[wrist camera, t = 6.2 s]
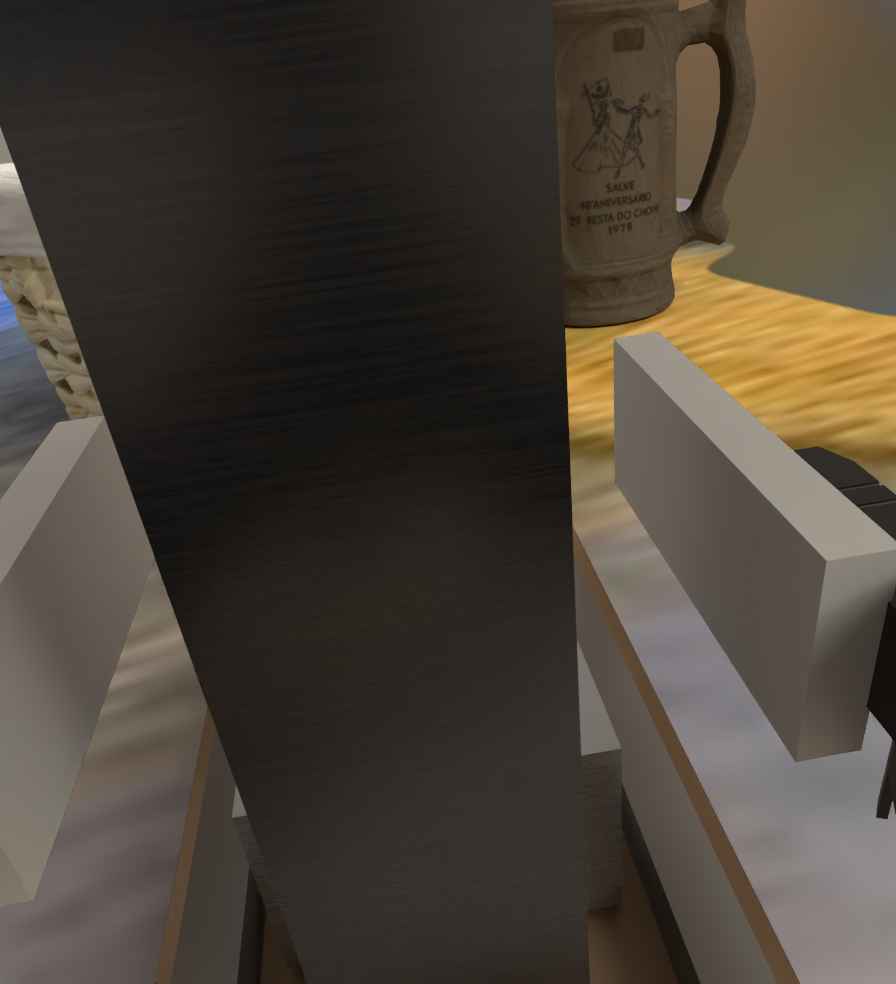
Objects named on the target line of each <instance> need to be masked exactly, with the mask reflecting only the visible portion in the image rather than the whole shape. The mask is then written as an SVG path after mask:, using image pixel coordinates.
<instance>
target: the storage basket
mask: <svg viewBox="0 0 896 984" xmlns="http://www.w3.org/2000/svg"><path fill="white" fill-rule="evenodd" d="M0 280H1V282H2V290H3V292H4V294H5V295H6V296H7V298H8V299H9V300H10V301H11V303H12V304H13V305H14V309H15V313H16V317H17V319H18V321H19V323H20V325H21V326H22V328H23V329H24V330H25V333H26V335H27V337H28V339H29V340H30V342H31V343H32V344H34V345H35V347H36V351H37V356H38V358H39V361H40V363H41V365H42V367H43V368H44V369H45V371H46V374H47V377H48V379H49V381H50V382H51V383H52V384H54V385H55V386H56V392H57V394H58V396H59V398H60V399H61V401H62V402H63V403H64V404H65V409H66V412H67V414H68V416H69V417H70V419H71V420H77V419H84V418H90V417H97V416H103V415H104V414H103V412H102V409H101V406H100V403H99V400H98V398H97V395H96V392H95V389H94V386H93V384H92V381H91V378H90V375H89V372H88V370H87V367H86V364H85V361H84V359H83V356H82V353H81V350H80V347H79V345H78V342H77V339H76V336H75V333H74V331H73V328H72V325H71V322H70V319H69V317H68V314H67V311H66V308H65V305H64V303H63V300H62V297H61V294H60V291H59V289H58V286H57V283H56V280H55V278H54V275H53V272H52V269H51V266H50V264H49V261H48V258H47V255H46V252H45V250H44V247H43V244H42V241H41V238H40V236H39V233H38V230H37V227H36V224H35V222H34V219H33V216H32V213H31V210H30V208H29V205H28V202H27V199H26V196H25V194H24V191H23V188H22V185H21V183H20V180H19V177H18V174H17V171H16V169H15V166H14V163H6V164H0Z"/></svg>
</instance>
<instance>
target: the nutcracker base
mask: <svg viewBox="0 0 896 984" xmlns="http://www.w3.org/2000/svg"><path fill="white" fill-rule="evenodd" d="M573 552H574V578H575V604H576V630H577V641H578V643H579V646H580V648H581V650H582V653H583V655H584V658H585V660H586V663H587V665H588V668H589V670H590V672H591V675H592V677H593V680H594V682H595V685H596V687H597V690H598V692H599V694H600V697H601V699H602V702H603V704H604V707H605V709H606V712H607V714H608V716H609V719H610V721H611V724H612V726H613V729H614V731H615V734H616V736H617V738H618V741H619V743H620V746H621V748H622V905H618V906H613V907H608V908H603V909H597V910H592V911H587V917H588V943H589V969H590V984H800V982H799V980H798V978H797V976H796V974H795V972H794V970H793V968H792V966H791V964H790V962H789V960H788V958H787V956H786V954H785V952H784V950H783V948H782V946H781V944H780V942H779V940H778V938H777V936H776V934H775V932H774V930H773V928H772V926H771V924H770V922H769V920H768V918H767V916H766V914H765V912H764V910H763V908H762V906H761V904H760V902H759V900H758V898H757V896H756V894H755V892H754V890H753V888H752V886H751V884H750V882H749V880H748V878H747V876H746V874H745V872H744V870H743V868H742V866H741V864H740V862H739V860H738V858H737V856H736V854H735V852H734V850H733V848H732V846H731V844H730V842H729V840H728V837H727V835H726V833H725V831H724V829H723V827H722V825H721V823H720V821H719V819H718V817H717V815H716V813H715V811H714V809H713V807H712V805H711V803H710V801H709V799H708V797H707V795H706V793H705V791H704V789H703V787H702V785H701V783H700V781H699V779H698V777H697V775H696V773H695V771H694V769H693V767H692V765H691V763H690V761H689V759H688V757H687V755H686V753H685V751H684V749H683V747H682V745H681V743H680V741H679V739H678V737H677V735H676V733H675V731H674V729H673V727H672V725H671V723H670V721H669V719H668V717H667V715H666V713H665V711H664V709H663V707H662V705H661V703H660V701H659V699H658V697H657V695H656V693H655V691H654V689H653V687H652V685H651V683H650V681H649V679H648V677H647V675H646V673H645V671H644V669H643V667H642V665H641V663H640V661H639V659H638V657H637V655H636V653H635V650H634V648H633V646H632V644H631V642H630V640H629V638H628V636H627V634H626V632H625V630H624V628H623V626H622V624H621V622H620V620H619V618H618V616H617V614H616V612H615V610H614V608H613V606H612V604H611V602H610V600H609V598H608V596H607V594H606V592H605V590H604V588H603V586H602V584H601V582H600V580H599V578H598V576H597V574H596V572H595V570H594V568H593V566H592V564H591V562H590V560H589V558H588V556H587V554H586V552H585V550H584V548H583V546H582V544H581V542H580V540H579V538H578V536H577V534H576V532H575V530H574V528H573ZM235 790H236V783H235V780H234V778H233V775H232V772H231V769H230V766H229V764H228V761H227V758H226V755H225V752H224V750H223V747H222V744H221V741H220V738H219V736H218V733H217V730H216V727H215V724H214V722H213V719H212V716H211V713H210V710H209V708H208V709H207V714H206V720H205V725H204V730H203V735H202V740H201V746H200V751H199V756H198V761H197V767H196V772H195V777H194V782H193V788H192V793H191V798H190V803H189V809H188V814H187V819H186V824H185V829H184V835H183V840H182V845H181V850H180V856H179V861H178V866H177V871H176V877H175V882H174V887H173V892H172V897H171V903H170V908H169V913H168V918H167V924H166V929H165V934H164V939H163V945H162V950H161V955H160V960H159V965H158V971H157V976H156V981H155V984H307V981H306V979H305V976H304V973H303V970H302V967H301V966H296V967H291V968H288V967H287V965H286V962H285V959H284V957H283V954H282V951H281V949H280V946H279V943H278V941H277V938H276V935H275V933H274V930H273V927H272V925H271V922H270V919H269V917H268V914H267V911H266V908H265V906H264V903H263V900H262V898H261V895H260V892H259V890H258V887H257V884H256V882H255V879H254V876H253V874H252V871H251V868H250V866H249V863H248V860H247V858H246V855H245V852H244V850H243V847H242V844H241V842H240V839H239V836H238V834H237V831H236V828H235V825H234V823H233V820H232V812H233V805H234V797H235Z"/></svg>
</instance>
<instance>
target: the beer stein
mask: <svg viewBox="0 0 896 984" xmlns="http://www.w3.org/2000/svg"><path fill="white" fill-rule="evenodd" d="M552 4H553V31H554V57H555V83H556V109H557V135H558V161H559V187H560V213H561V239H562V265H563V291H564V317H565V325H566V326H581V327H591V326H603V325H613V324H621V323H627V322H631V321H635V320H639V319H642V318H646V317H649V316H652V315H654V314H656V313H658V312H661V311H663V310H665V309H666V308H668V307H669V306H670V304H671V303H672V302H673V299H674V296H675V292H674V284H673V279H672V271H671V262H672V257H673V255H674V254H675V252H676V251H677V250H678V248H679V247H680V246H682V245H684V244H686V243H689V242H691V241H695V240H701V241H705V242H710V243H714V244H717V245H720V244H722V243H723V242H724V241H725V239H726V236H727V233H728V230H729V220H728V218H727V217H726V215H725V214H724V212H723V209H722V202H723V195H724V193H725V190H726V187H727V185H728V182H729V180H730V178H731V176H732V174H733V171H734V169H735V167H736V165H737V162H738V160H739V158H740V156H741V153H742V151H743V149H744V146H745V144H746V142H747V137H748V134H749V130H750V126H751V122H752V118H753V112H754V107H755V93H756V92H755V91H756V79H755V72H754V65H753V58H752V53H751V49H750V45H749V41H748V37H747V34H746V19H745V8H746V0H710V1H709V2H706V3H703V4H700V5H697V6H694V7H692V8H689V9H686V10H683V11H679V10H678V4H679V0H552ZM704 42H705V43H706V44H708V45H709V46H711V47H712V48H713V50H714V52H715V53H716V55H717V58H718V63H719V69H720V106H719V107H720V108H719V113H718V117H717V122H716V124H717V125H716V131H715V137H714V141H713V145H712V148H711V152H710V155H709V159H708V161H707V165H706V168H705V171H704V174H703V177H702V180H701V182H700V185H699V188H698V191H697V193H696V195H695V197H694V199H693V201H692V203H691V205H690V206H689V207H688V209H687V210H685V211H682V212H678V211H677V210H676V133H677V94H676V62H677V59H678V57H679V54H680V52H681V51H682V50H683V49H684V48H685V47H686V46H688V45H694V44H699V43H704Z"/></svg>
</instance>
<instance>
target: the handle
mask: <svg viewBox="0 0 896 984" xmlns="http://www.w3.org/2000/svg"><path fill="white" fill-rule="evenodd" d="M0 127H1V129H2V132H3V135H4V138H5V141H6V143H7V146H8V149H9V152H10V154H11V157H12V160H13V163H14V166H15V169H16V171H17V174H18V177H19V180H20V183H21V185H22V188H23V191H24V194H25V196H26V199H27V202H28V205H29V208H30V210H31V213H32V216H33V219H34V222H35V224H36V227H37V230H38V233H39V236H40V238H41V241H42V244H43V247H44V250H45V252H46V255H47V258H48V261H49V264H50V266H51V269H52V272H53V275H54V278H55V280H56V283H57V286H58V289H59V291H60V294H61V297H62V300H63V303H64V305H65V308H66V311H67V314H68V317H69V319H70V322H71V325H72V328H73V331H74V333H75V336H76V339H77V342H78V345H79V347H80V350H81V353H82V356H83V359H84V361H85V364H86V367H87V370H88V372H89V375H90V378H91V381H92V384H93V386H94V389H95V392H96V395H97V398H98V400H99V403H100V406H101V409H102V412H103V414H104V417H105V420H106V423H107V426H108V428H109V431H110V434H111V437H112V440H113V442H114V445H115V448H116V451H117V453H118V456H119V459H120V462H121V465H122V467H123V470H124V473H125V476H126V479H127V481H128V484H129V487H130V490H131V493H132V495H133V498H134V501H135V504H136V507H137V509H138V512H139V515H140V518H141V521H142V523H143V526H144V529H145V532H146V534H147V537H148V540H149V543H150V546H151V548H152V551H153V554H154V557H155V560H156V562H157V565H158V568H159V571H160V574H161V576H162V579H163V582H164V585H165V588H166V590H167V593H168V596H169V599H170V602H171V604H172V607H173V610H174V613H175V616H176V618H177V621H178V624H179V627H180V629H181V632H182V635H183V638H184V641H185V643H186V646H187V649H188V652H189V655H190V657H191V660H192V663H193V666H194V669H195V671H196V674H197V677H198V680H199V683H200V685H201V688H202V691H203V694H204V697H205V699H206V702H207V705H208V708H209V710H210V713H211V716H212V719H213V722H214V724H215V727H216V730H217V733H218V736H219V738H220V741H221V744H222V747H223V750H224V752H225V755H226V758H227V761H228V764H229V766H230V769H231V772H232V775H233V778H234V780H235V783H236V790H235V797H234V805H233V812H232V820H233V823H234V825H235V828H236V831H237V834H238V836H239V839H240V842H241V844H242V847H243V850H244V852H245V855H246V858H247V860H248V863H249V866H250V868H251V871H252V874H253V876H254V879H255V882H256V884H257V887H258V890H259V892H260V895H261V898H262V900H263V903H264V906H265V908H266V911H267V914H268V917H269V919H270V922H271V925H272V927H273V930H274V933H275V935H276V938H277V941H278V943H279V946H280V949H281V951H282V954H283V957H284V959H285V962H286V965H287V967H288V968H291V967H296V966H301V967H302V970H303V973H304V976H305V979H306V981H307V984H590V969H589V943H588V917H587V911H592V910H597V909H603V908H608V907H613V906H618V905H622V748H621V746H620V743H619V741H618V738H617V736H616V734H615V731H614V729H613V726H612V724H611V721H610V719H609V716H608V714H607V712H606V709H605V707H604V704H603V702H602V699H601V697H600V694H599V692H598V690H597V687H596V685H595V682H594V680H593V677H592V675H591V672H590V670H589V668H588V665H587V663H586V660H585V658H584V655H583V653H582V650H581V648H580V646H579V643H578V641H577V630H576V604H575V578H574V552H573V526H572V500H571V474H570V448H569V422H568V396H567V370H566V343H565V317H564V291H563V265H562V239H561V213H560V187H559V161H558V135H557V109H556V83H555V57H554V31H553V4H552V0H0Z"/></svg>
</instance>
